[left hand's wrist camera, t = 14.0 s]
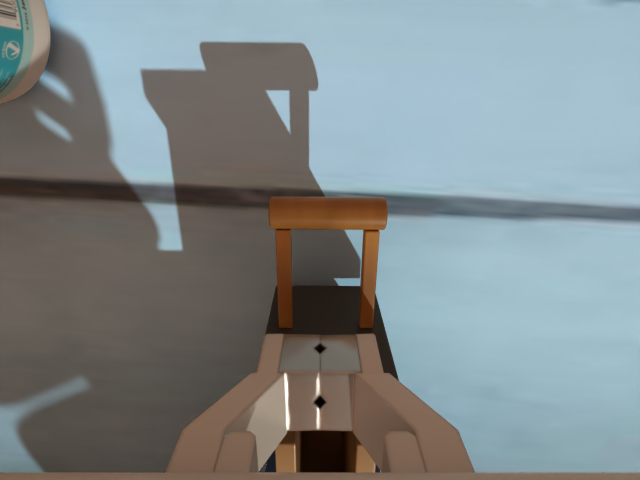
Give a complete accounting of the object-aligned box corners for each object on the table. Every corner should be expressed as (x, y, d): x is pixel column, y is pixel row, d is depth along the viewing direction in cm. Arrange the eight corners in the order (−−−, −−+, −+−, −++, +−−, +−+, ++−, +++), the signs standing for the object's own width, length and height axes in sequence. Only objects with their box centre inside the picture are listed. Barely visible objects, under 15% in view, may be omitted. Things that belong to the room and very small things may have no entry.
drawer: (271, 176, 19) (239, 236, 11) (381, 177, 19) (422, 237, 11) (284, 502, 27) (270, 660, 20) (358, 502, 27) (373, 660, 20)
